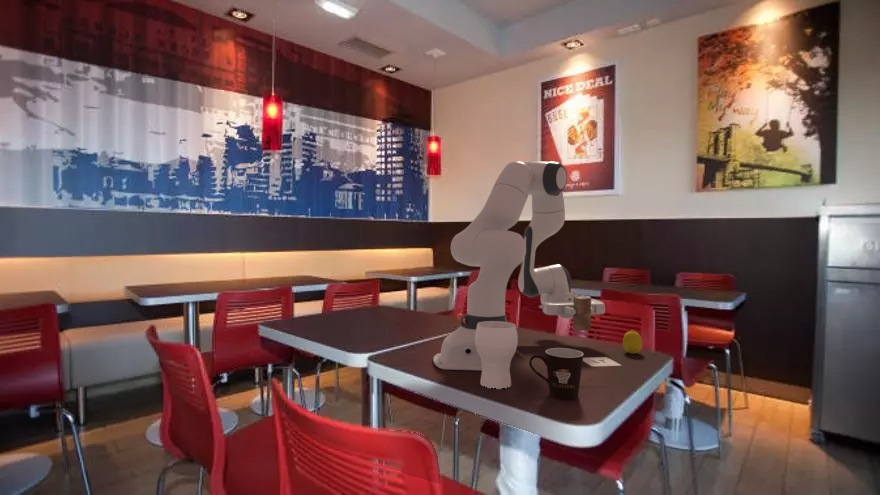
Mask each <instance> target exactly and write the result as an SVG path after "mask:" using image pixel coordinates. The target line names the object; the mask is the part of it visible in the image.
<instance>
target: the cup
mask: <svg viewBox="0 0 880 495" xmlns="http://www.w3.org/2000/svg"><path fill="white" fill-rule="evenodd" d="M518 338H519V337H518V330H517V327H516V324H515V323H513V322H508V321H507V322H502V321H485V322H480V323H478V324H477V328H476V332H475V345H476V348H477V352H478V354H479V356H480V358H481V362H482V370H481V375H480V383H479V384H480V385H481V386H482V387H484V386H485V388H486V387H487V388H486V389H491V388H493V389H492V390H503V389H502V388H505V389H508V388H510V387H511V386H512V379H511V372H510V368H511V362H512V360H513V357H514V355H515V353H516V351H517V347H518V342H519V340H518ZM507 387H508V388H507ZM494 388H496V389H494Z"/></svg>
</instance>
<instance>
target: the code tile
mask: <svg viewBox="0 0 880 495" xmlns="http://www.w3.org/2000/svg"><path fill="white" fill-rule="evenodd" d="M583 363H586V364H587V365H589V366H590V367H613V366H615V367H616V366H622V364H620V363H618V362H616V361H615V360H612V359H611V358H608V357H607V356H598V357H597V356H596V357H595V356H594V357H592V356H591V357H583Z"/></svg>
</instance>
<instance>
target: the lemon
mask: <svg viewBox="0 0 880 495" xmlns="http://www.w3.org/2000/svg"><path fill="white" fill-rule="evenodd" d="M622 346H623V348H624V350H625V352H627V353H629V354H631V355H635V354H638V353H639V352H640V351H641V350H642V346H643V340H642V338H641V335H640V334H639V333H638V332H637V331H635V330H633V329H631V330H630V331H627V332H626V333H625V334H624V336H623V339H622Z"/></svg>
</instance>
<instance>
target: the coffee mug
mask: <svg viewBox="0 0 880 495" xmlns="http://www.w3.org/2000/svg"><path fill="white" fill-rule="evenodd" d="M544 353H545V354H544V355H545V357H544V356H542V355H540V354H536V355H535V354H534V355H533V356H531V357H530V359H529V361H528V364H529V367H530V369H531V370H532V371H533V372H534V373H535V374H536V375H537V376H538V377H539V378H541V379H543V380H544V381H545V382H546V384H547V385H548V390H549V392H548V393H549V396H550V395H551V396H550V397H552V398H554V399H557V400H563V401H572V400H573V401H574V400H577V399H578V398H579V393H580V392H579V391H580V385H581V384H580V383H581V375H582V370H583V363H584V361H583V358H584V352H582V351H580V350H577V349H572V348H566V347H554V348H553V347H552V348H551V347H550V348H547V349H546V350H545V351H544ZM536 358H537V359H541V360H542V361H543V362H544V364H545V366H546V372H547V377H546V376H544V375H543V374H541V373H540V372H538V371H537V370H536V369H535V367H533V365H532V362H533V360H534V359H536Z"/></svg>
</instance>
